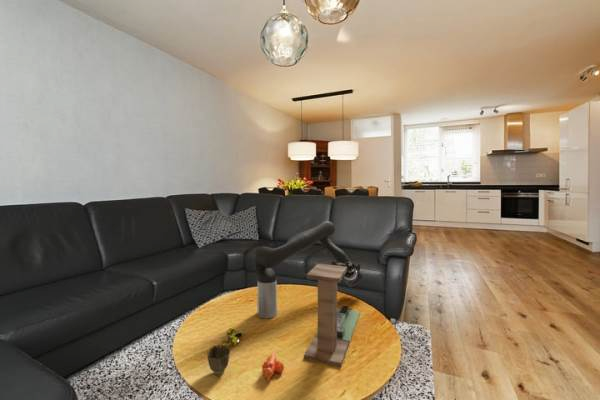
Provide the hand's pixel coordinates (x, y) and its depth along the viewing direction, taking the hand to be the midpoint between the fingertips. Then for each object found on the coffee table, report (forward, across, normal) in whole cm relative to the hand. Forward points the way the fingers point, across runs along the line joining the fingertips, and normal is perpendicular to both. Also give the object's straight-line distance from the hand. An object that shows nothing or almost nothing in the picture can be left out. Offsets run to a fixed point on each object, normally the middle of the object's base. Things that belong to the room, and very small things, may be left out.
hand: (343, 263), depth 135 cm
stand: (+11, 0, +37) cm, 39 cm away
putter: (-7, 0, +26) cm, 27 cm away
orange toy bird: (+26, -14, +46) cm, 55 cm away
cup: (+33, -31, +50) cm, 67 cm away
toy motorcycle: (+17, -38, +41) cm, 58 cm away
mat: (-8, 0, +26) cm, 27 cm away
